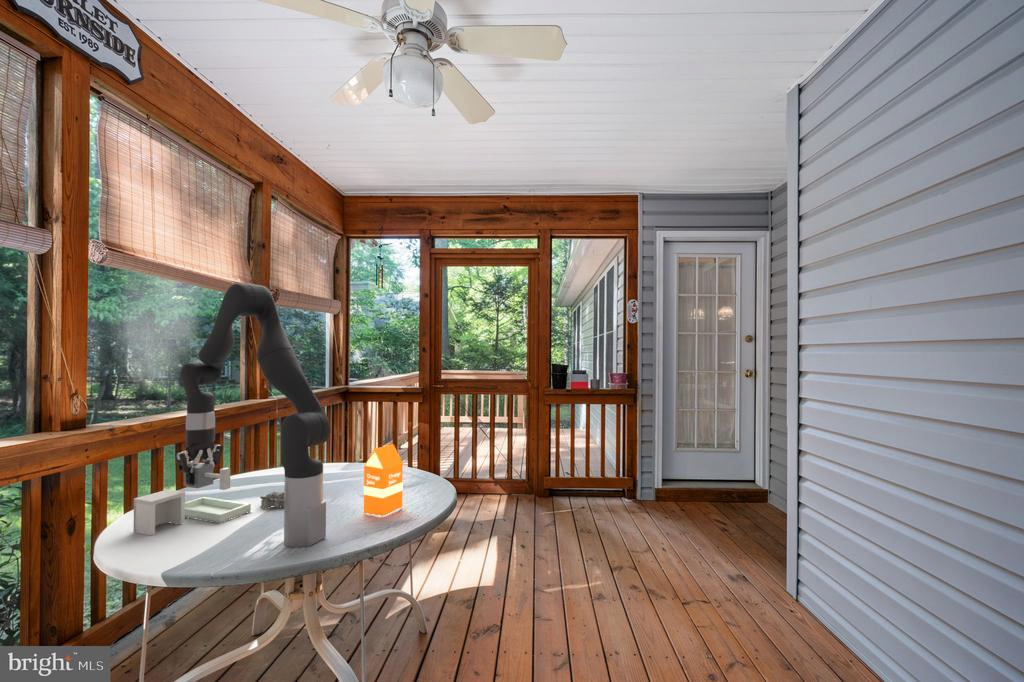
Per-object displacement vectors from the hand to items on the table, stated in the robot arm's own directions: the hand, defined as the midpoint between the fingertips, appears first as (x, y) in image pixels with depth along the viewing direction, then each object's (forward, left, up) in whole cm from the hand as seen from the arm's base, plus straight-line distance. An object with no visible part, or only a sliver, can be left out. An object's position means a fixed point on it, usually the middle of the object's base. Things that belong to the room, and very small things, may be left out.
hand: (199, 482), depth 143 cm
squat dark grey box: (-4, 0, -1) cm, 4 cm away
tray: (-5, 0, -9) cm, 10 cm away
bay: (-2, +13, -9) cm, 16 cm away
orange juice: (-53, -19, -9) cm, 57 cm away
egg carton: (-18, -14, -9) cm, 24 cm away
